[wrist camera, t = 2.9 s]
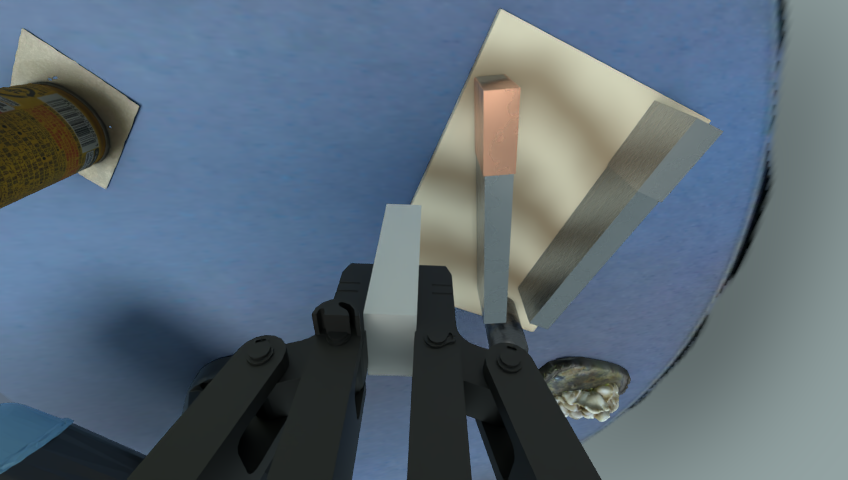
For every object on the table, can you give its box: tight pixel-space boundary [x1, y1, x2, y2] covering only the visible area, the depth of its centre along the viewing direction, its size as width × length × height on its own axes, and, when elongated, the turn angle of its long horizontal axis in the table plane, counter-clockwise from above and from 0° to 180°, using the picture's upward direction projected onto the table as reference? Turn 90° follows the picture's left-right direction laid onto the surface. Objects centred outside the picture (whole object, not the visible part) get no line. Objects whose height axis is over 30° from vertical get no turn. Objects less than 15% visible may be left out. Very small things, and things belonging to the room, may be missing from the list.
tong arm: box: [474, 74, 521, 324], centre depth 26 cm, size 18×2×5 cm, turn 5°
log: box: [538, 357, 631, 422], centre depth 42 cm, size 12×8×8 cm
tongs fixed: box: [485, 100, 723, 353], centre depth 28 cm, size 23×4×5 cm, turn 157°
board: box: [410, 9, 711, 332], centre depth 29 cm, size 23×17×1 cm
